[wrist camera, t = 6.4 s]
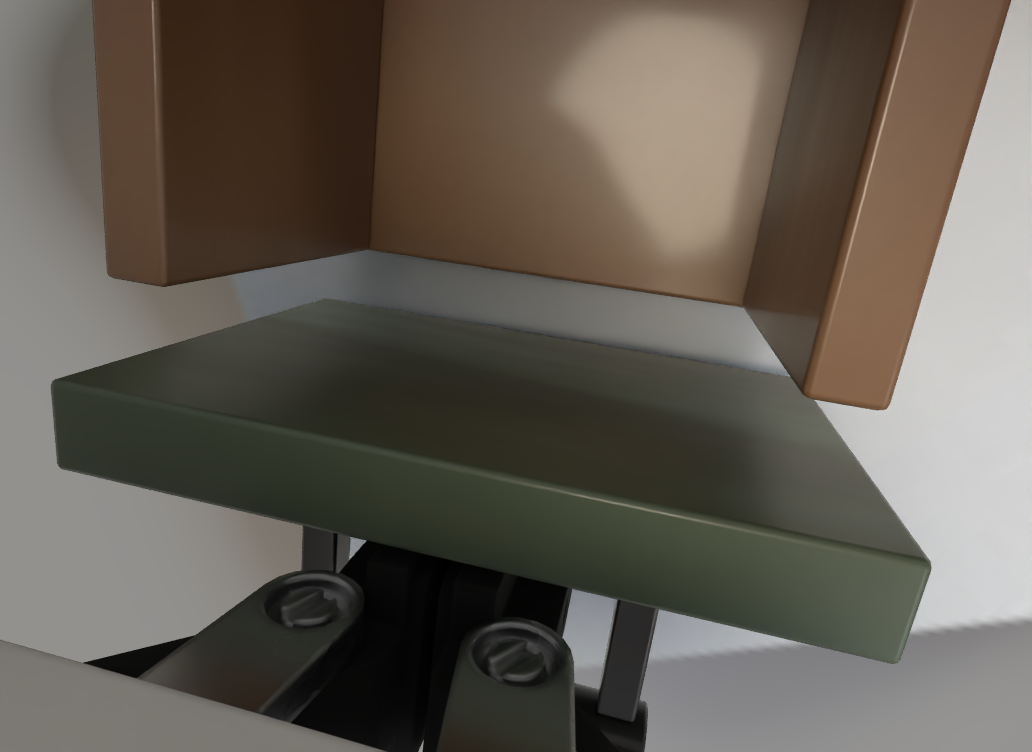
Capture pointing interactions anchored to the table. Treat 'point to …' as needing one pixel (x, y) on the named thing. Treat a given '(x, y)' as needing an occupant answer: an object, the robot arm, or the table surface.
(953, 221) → the table surface
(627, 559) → the drawer
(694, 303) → the table surface
